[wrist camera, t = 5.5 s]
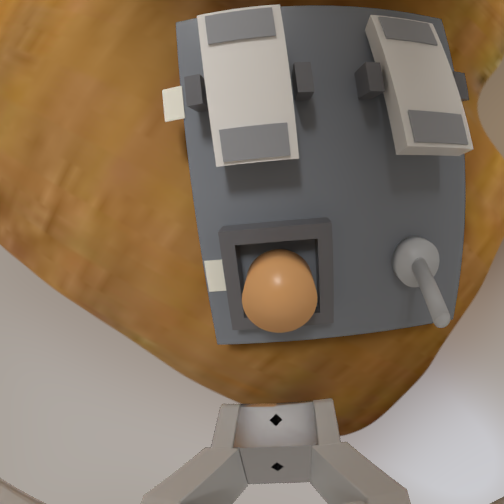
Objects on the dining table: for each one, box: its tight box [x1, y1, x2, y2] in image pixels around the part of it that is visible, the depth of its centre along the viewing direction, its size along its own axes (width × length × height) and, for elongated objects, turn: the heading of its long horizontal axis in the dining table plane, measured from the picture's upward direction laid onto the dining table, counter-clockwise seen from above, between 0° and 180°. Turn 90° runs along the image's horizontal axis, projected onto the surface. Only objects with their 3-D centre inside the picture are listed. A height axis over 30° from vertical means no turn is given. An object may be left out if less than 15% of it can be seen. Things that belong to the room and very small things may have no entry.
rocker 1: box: [197, 4, 299, 167], centre depth 14 cm, size 8×4×2 cm, turn 6°
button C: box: [242, 249, 317, 333], centre depth 16 cm, size 4×4×2 cm
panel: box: [162, 6, 469, 344], centre depth 16 cm, size 21×18×8 cm
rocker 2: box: [365, 15, 473, 156], centre depth 13 cm, size 8×4×2 cm, turn 6°
